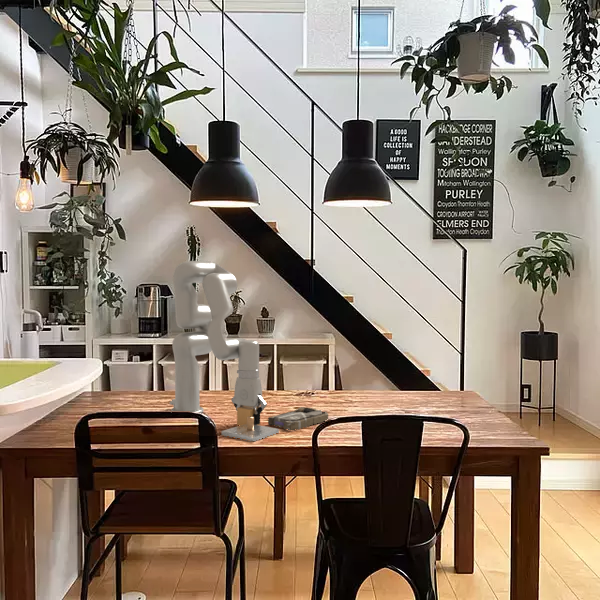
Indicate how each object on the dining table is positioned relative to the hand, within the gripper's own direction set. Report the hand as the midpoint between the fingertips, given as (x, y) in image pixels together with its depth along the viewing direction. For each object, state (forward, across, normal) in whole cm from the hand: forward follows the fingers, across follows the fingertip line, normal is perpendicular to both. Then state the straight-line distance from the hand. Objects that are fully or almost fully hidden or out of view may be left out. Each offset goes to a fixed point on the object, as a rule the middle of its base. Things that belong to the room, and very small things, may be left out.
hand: (248, 422), depth 243 cm
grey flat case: (+2, +12, +15) cm, 19 cm away
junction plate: (+1, +9, -10) cm, 13 cm away
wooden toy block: (+1, 0, 0) cm, 1 cm away
